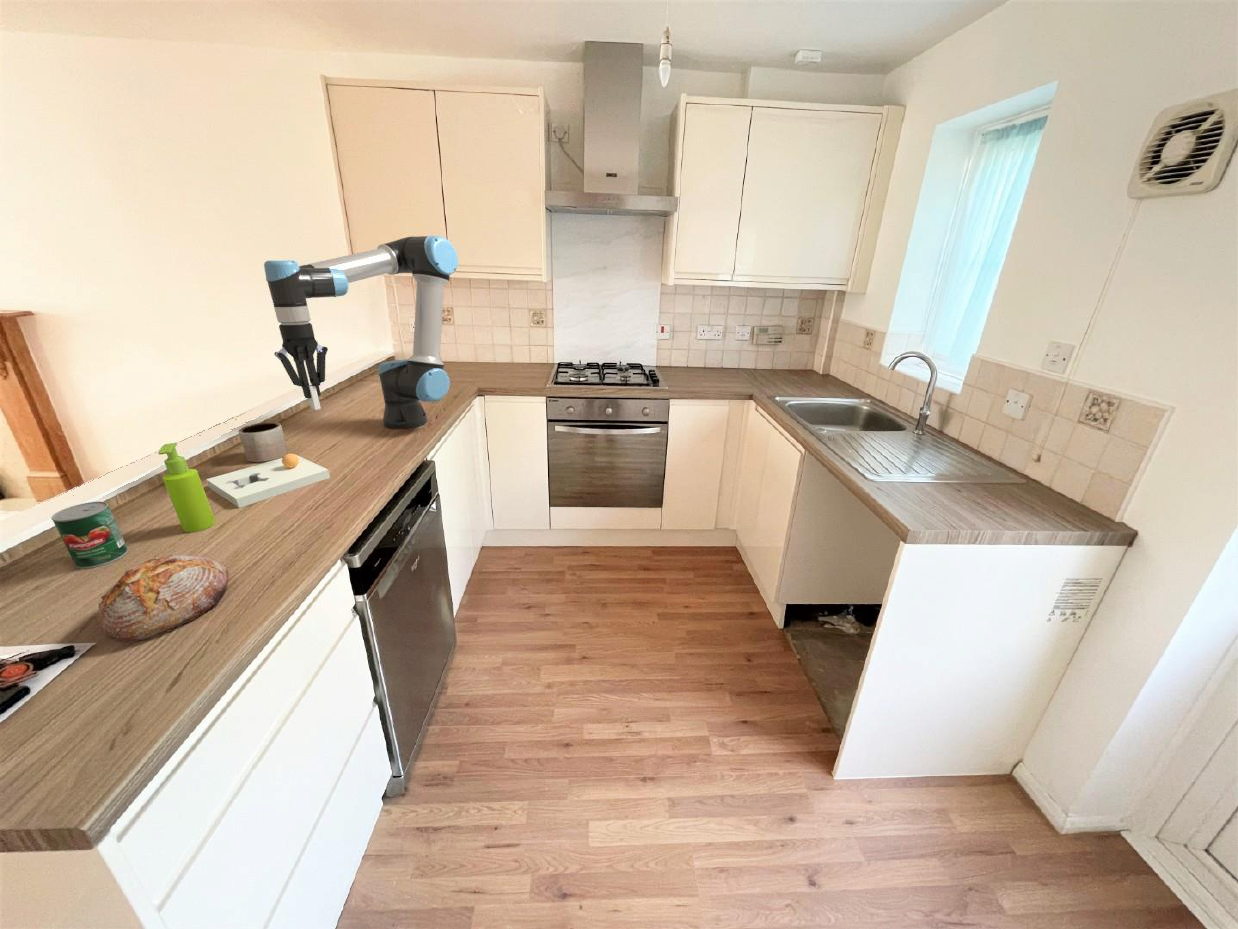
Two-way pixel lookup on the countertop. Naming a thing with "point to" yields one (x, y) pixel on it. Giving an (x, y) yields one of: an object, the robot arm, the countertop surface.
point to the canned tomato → (90, 534)
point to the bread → (161, 596)
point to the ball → (290, 460)
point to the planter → (263, 442)
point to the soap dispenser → (186, 492)
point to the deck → (266, 481)
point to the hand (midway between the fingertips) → (315, 408)
